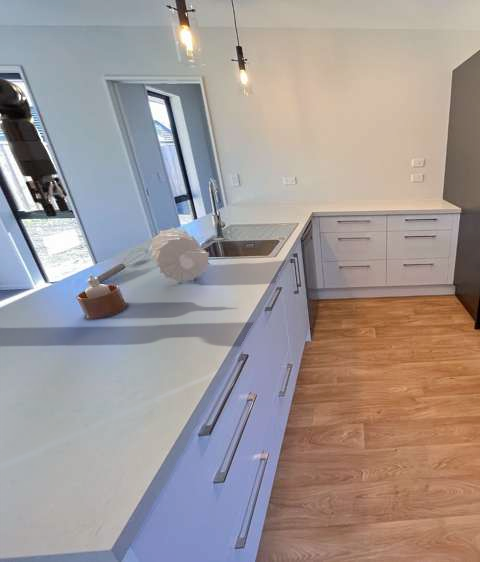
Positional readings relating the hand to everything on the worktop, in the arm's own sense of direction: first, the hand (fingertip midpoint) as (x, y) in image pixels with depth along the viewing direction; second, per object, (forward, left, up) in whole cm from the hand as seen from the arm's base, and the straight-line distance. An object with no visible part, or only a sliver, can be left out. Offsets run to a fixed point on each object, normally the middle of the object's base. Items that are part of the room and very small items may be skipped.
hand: (59, 213), depth 94 cm
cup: (+6, -13, -30) cm, 33 cm away
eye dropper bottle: (+6, -13, -30) cm, 33 cm away
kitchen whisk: (+2, +28, -30) cm, 41 cm away
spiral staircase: (+26, +11, -30) cm, 42 cm away
